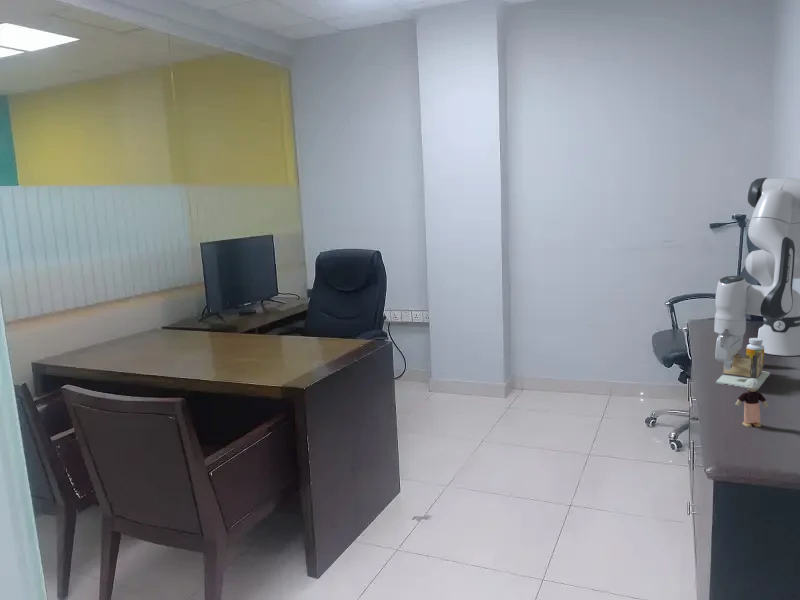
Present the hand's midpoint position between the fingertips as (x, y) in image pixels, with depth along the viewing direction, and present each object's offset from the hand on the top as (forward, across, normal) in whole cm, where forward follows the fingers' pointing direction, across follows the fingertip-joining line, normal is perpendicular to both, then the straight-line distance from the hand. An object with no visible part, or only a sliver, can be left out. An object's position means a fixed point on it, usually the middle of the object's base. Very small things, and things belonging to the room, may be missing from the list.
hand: (728, 368), depth 197 cm
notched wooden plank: (+3, +6, -2) cm, 7 cm away
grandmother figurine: (+4, -39, -14) cm, 41 cm away
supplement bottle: (+4, +23, -3) cm, 24 cm away
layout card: (+4, +5, -4) cm, 8 cm away
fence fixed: (+4, +9, -6) cm, 12 cm away
